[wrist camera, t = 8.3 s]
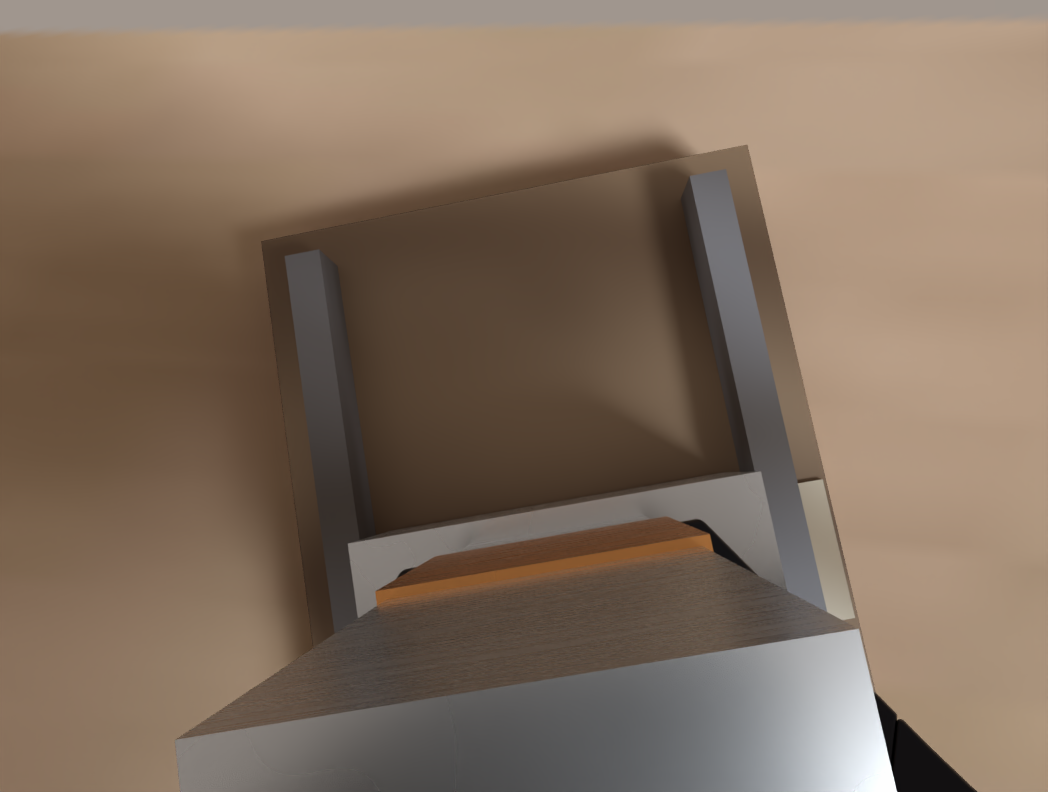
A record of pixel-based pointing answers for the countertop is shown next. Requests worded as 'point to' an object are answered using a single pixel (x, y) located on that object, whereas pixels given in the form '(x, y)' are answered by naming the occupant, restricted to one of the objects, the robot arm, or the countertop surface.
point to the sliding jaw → (565, 663)
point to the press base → (544, 365)
